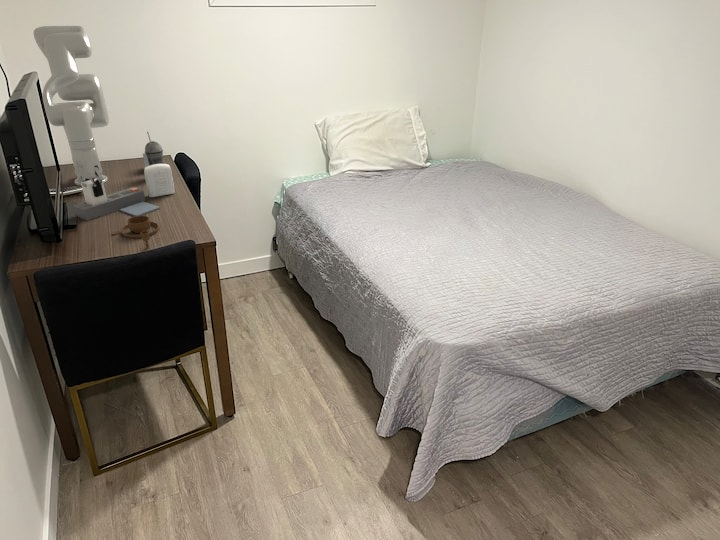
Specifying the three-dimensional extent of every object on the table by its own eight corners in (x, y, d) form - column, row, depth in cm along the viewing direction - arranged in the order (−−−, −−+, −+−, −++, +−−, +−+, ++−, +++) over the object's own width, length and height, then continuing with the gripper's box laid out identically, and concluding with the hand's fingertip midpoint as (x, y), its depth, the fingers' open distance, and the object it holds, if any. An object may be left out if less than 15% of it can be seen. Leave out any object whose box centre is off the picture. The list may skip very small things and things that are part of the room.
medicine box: (155, 172, 230) (152, 153, 226) (146, 172, 230) (142, 153, 226) (162, 167, 237) (158, 148, 233) (152, 167, 237) (149, 148, 233)
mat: (120, 211, 190) (119, 209, 189) (143, 203, 197) (143, 201, 197) (136, 217, 185) (136, 215, 185) (160, 208, 192) (160, 207, 192)
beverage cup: (170, 177, 224) (162, 131, 215) (154, 181, 220) (146, 134, 210) (162, 173, 229) (154, 128, 219) (146, 177, 224) (137, 131, 214)
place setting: (173, 226, 180) (170, 210, 177) (152, 251, 162) (149, 234, 159) (123, 225, 180) (119, 209, 177) (96, 250, 162) (92, 233, 159)
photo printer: (173, 190, 209) (168, 161, 204) (176, 193, 206) (171, 163, 200) (147, 195, 204) (141, 165, 198) (149, 198, 201) (143, 167, 195)
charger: (85, 203, 186) (80, 182, 182) (100, 199, 190) (95, 178, 186) (92, 206, 184) (87, 185, 180) (107, 201, 188) (102, 180, 184)
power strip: (75, 216, 185) (72, 204, 183) (134, 197, 203) (131, 186, 200) (86, 220, 182) (83, 208, 179) (145, 200, 199) (143, 189, 197)
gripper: (58, 142, 178) (71, 192, 187) (86, 150, 170) (99, 202, 179) (79, 137, 183) (91, 186, 192) (107, 145, 175) (118, 196, 184)
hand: (94, 193), depth 185 cm, fingers closed on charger, 4 cm apart
